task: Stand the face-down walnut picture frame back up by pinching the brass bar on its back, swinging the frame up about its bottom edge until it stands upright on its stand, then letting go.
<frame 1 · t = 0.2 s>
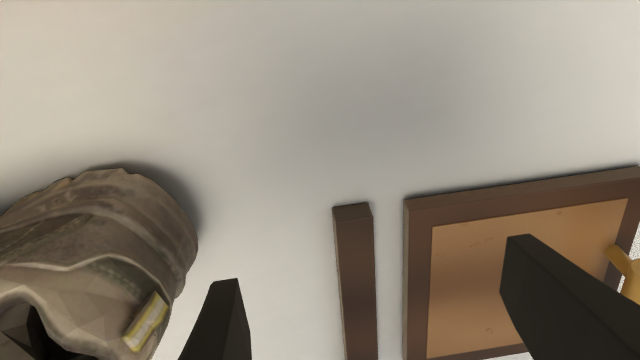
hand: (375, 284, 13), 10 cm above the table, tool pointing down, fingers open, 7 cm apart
frame stand: (355, 293, 28), on the table
picture frame: (528, 300, 26), point 2 cm above the table, hinge at 0.0°
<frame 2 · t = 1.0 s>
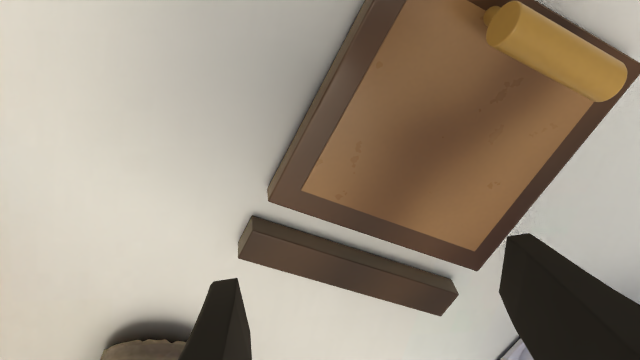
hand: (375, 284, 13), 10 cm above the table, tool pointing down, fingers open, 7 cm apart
frame stand: (351, 262, 26), on the table
picture frame: (462, 149, 21), point 2 cm above the table, hinge at 0.0°
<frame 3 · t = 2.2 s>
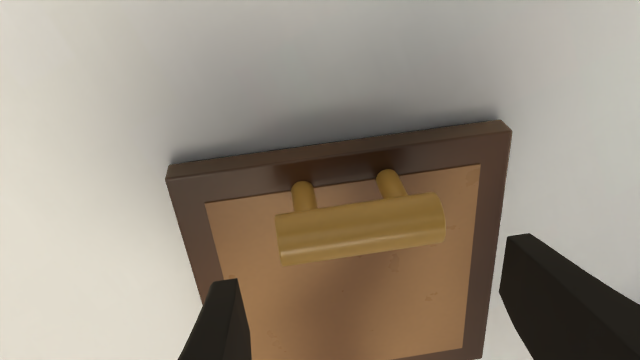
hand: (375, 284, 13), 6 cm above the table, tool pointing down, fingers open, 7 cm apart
picture frame: (357, 306, 19), point 2 cm above the table, hinge at 0.0°
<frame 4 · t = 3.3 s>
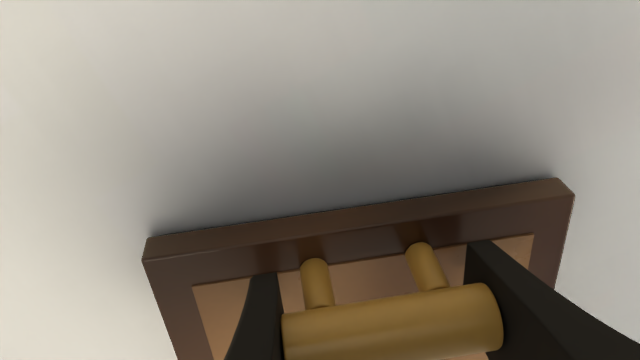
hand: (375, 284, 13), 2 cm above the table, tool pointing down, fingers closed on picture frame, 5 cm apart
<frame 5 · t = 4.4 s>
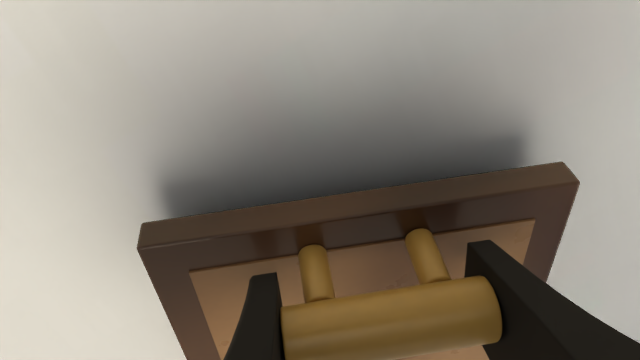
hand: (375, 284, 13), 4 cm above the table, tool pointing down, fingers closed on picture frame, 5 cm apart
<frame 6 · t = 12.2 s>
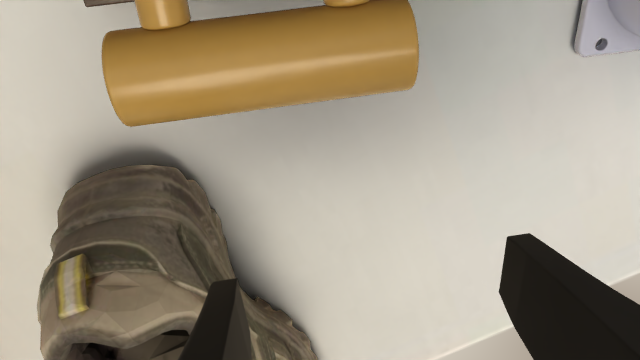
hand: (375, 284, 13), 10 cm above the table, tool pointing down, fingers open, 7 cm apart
hiking shoe: (213, 307, 27), on the table
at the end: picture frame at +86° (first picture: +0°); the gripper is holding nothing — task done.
